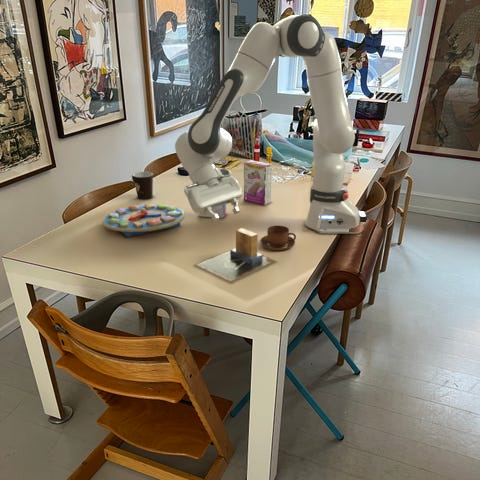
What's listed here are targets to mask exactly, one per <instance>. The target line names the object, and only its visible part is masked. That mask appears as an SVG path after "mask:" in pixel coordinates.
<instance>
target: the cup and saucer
mask: <svg viewBox="0 0 480 480" xmlns="http://www.w3.org/2000/svg"><path fill="white" fill-rule="evenodd" d="M266 232H267V233H266V235H264V236H263V237H261V238H260V244H261V245H262V247H264V248H266V249H267V250H271V251H285V250H289V249H291V248H292V247H294V246H295V244H296V239H297V235H296V234H295V233H294V232H290V229H289V227H287V226H285V225H271V226H269V227H267V230H266ZM291 235H292V236H293V237H292V236H291ZM268 245H269V246H268ZM286 245H287V246H286Z"/></svg>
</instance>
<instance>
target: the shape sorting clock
mask: <svg viewBox="0 0 480 480" xmlns="http://www.w3.org/2000/svg"><path fill="white" fill-rule="evenodd" d="M184 218H185V212H184V210H183V209H182V208H180V207H177V206H173V205H166V204H164V203H159V204H150V203H144V205H138V206H137V205H135V204H134V205H129V206H127V207H125V208H116V209H115V211H113V212H110V213H108V214H106V215H105V217H103V219H102V223H103V226H104V227H105V228H107V229H109V230H111V231H115V232H120V233H122V234H123V235H124V236H125V237H126V238H129V237H133V236H140V235H145V234H149V233H154V232H158V231H162V230H167V229H173V228H177V227H180V224H181V222H182V221H183V220H184Z"/></svg>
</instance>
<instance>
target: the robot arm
mask: <svg viewBox="0 0 480 480" xmlns="http://www.w3.org/2000/svg"><path fill="white" fill-rule="evenodd" d="M278 57H280V58H281V57H282V58H293V59H295V58H299V57H301V59H302V60H303V62H304V65H305V70H306V77H307V84H308V91H309V96H310V102H311V105H312V108H313V111H314V115H315V120H314V121H313V124H312V150H313V172H312V185H311V186H310V190H309V191H310V192H309V208H308V211H307V216H306V219H305V221H304V225H305V226H306V227H307V228H309V229H311V230H314V231H316V232H317V233H319V234H327V235H328V234H331V235H332V234H333V235H334V234H337V235H338V234H340V235H341V234H343V235H360V234H359V233H358V232H349V229H351V228H355V227H357V226H358V225H359V223H360V222H366V220H367V221H368V217H367V215H366V213H365V211H361V210H359V208H358V207H357V206H356V205H355V204H354V203H352V202H351V201H350V200H349V195H350V194H349V193H348V189H347V188H344V180H345V170H346V164H345V155H344V154H345V153H347V152H348V151H350V149H351V148H352V147H353V145H354V143H355V139H356V135H355V130H354V126H353V123H352V118H351V113H350V110H349V109H350V108H349V106H348V101H347V98H346V93H345V87H344V79H343V78H344V77H343V72H342V71H343V70H342V63H341V57H340V53H339V49H338V45H337V42H336V39H335V37H334V35H332V34H331V33H330V32H329V33H328V32H324V30H323V29H322V26H321V24H320V23H319V21H318V20H317V19H316V18H315V17H313V16H312V15H309V14H305V13H304V14H294V15H289V16H287V17H285V18H281V19H278V20H277V21H276V22H274V23H273V24H272V25H271V24H270V23H268V22H261V21H260V22H257V23H255V24H254V25H252V28H251V29H250V30H249V32H248V33H247V35H246V36H245V37H244V40H243V41H242V43H241V45H240V47H239V48H238V51H237V53H236V55H235V57H234V59H233V62H232V63H231V65H230V67H229V69H228V70H227V72H225V74H224V75H223V76H222V78H221V80H220V81H219V83H218V84H217V87H216V88H215V90H214V91H213V94H212V95H211V98H210V99H209V101H208V102H207V104H206V106H205V108H204V110H203V111H202V112H201V114H200V115H199V116H198V117H197V118H196V119H195V120H194V121H193V122H192V123H191V125H190V126H189V128H188V131H185V132H183V133H182V134H180V136H178V138H177V139H176V141H175V143H174V149H175V153H176V155H177V157H178V160H179V162H180V163H181V166H182V167H183V169H184V170H185V171H186V172H187V173H188V176H189V179H190V181H191V184H187V185H186V186H185V187H184V189H183V192H184V194H185V196H186V198H187V201H188V204H189V205H190V207H191V208H190V209H192V212H194V213H195V214H200V212H203V211H205V213H206V214H207V215H208V216H210V217H209V218H211V220H212V221H213V222H217V221H219V220H220V218H219V216H218V214H215V213H214V212H212V211H211V210H212V208H215V207H218V206H221V205H224V204H226V205H227V204H231V205H232V206H233V209H232V212H233V214H234V215H237V214H240V212H241V209H240V207H239V200H240V199H241V198H242V197H243V196H244V190H243V189H242V187H241V184H239V182H238V181H237V179H236V178H235V177H234V176H232V171H231V170H230V169H229V168H221V167H216V166H215V165H214V164H215V163H217V162H220V161H221V160H222V159H225V158H226V157H227V156H229V154H230V153H231V151H232V149H233V138H232V136H231V134H230V133H229V131H227V130H225V129H224V128H223V127H222V124H223V122H224V120H225V118H226V116H227V115H228V113H229V111H230V110H231V107H232V106H233V105H234V102H235V101H236V100H237V99H238V98H240V97H241V96H243V95H250V94H253V93H256V92H258V90H260V88H261V87H262V86H263V84H264V83H265V81H266V79H267V77H268V75H269V73H270V71H271V69H272V66H273V64H274V62H275V61H276V59H277V58H278ZM366 223H367V222H366Z"/></svg>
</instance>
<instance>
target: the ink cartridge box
mask: <svg viewBox="0 0 480 480" xmlns="http://www.w3.org/2000/svg"><path fill="white" fill-rule="evenodd" d="M211 211H212V212H214V213H215V214H218V216H219V219H224V217H225V216H226V215H227V204H224V205H221V206H218V207H215V208H212V210H211ZM199 217H204V218H211V217H210V216H208V215H207V214H206V213H205V211H203V212H200V213H199Z"/></svg>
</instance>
